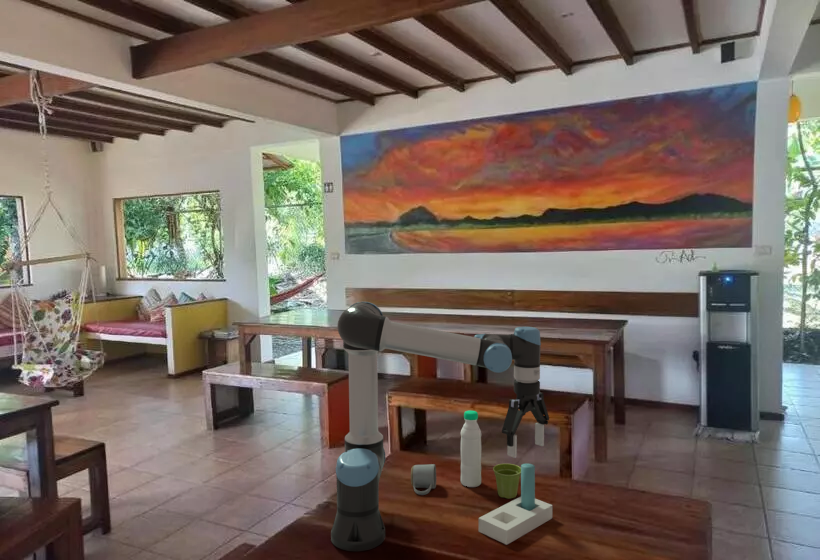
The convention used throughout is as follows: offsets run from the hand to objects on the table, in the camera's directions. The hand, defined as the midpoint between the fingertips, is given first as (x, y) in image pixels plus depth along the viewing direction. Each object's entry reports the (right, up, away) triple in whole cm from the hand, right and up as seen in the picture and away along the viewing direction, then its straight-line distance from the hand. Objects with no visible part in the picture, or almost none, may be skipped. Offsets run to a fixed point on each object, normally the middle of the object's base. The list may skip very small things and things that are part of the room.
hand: (526, 450), depth 170 cm
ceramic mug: (-30, -20, +23) cm, 42 cm away
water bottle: (-14, -19, +26) cm, 35 cm away
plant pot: (-3, -20, +17) cm, 27 cm away
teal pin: (+1, -20, +1) cm, 20 cm away
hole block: (-3, -21, -2) cm, 21 cm away
